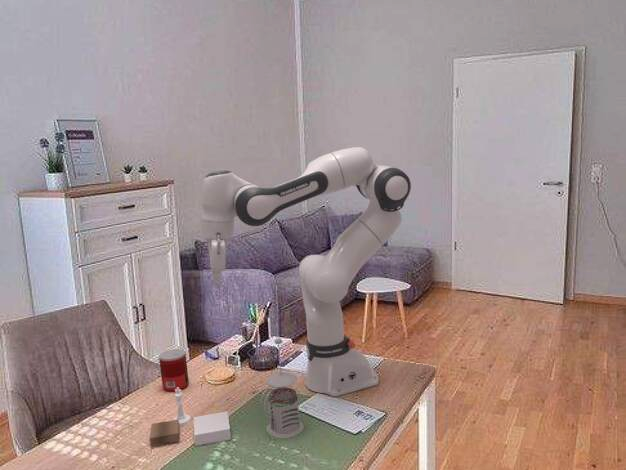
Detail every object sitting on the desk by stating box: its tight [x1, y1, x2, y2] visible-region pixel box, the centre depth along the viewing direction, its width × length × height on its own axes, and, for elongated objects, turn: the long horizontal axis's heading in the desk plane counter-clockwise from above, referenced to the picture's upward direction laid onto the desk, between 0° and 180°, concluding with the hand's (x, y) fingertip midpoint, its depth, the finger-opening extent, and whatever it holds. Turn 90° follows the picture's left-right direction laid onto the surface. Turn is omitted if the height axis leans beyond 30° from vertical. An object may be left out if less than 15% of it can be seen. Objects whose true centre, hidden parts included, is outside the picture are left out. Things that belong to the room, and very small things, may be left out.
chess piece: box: [172, 387, 192, 427], centre depth 144 cm, size 5×5×10 cm
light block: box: [193, 411, 232, 447], centre depth 138 cm, size 9×9×3 cm
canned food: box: [158, 348, 190, 393], centre depth 165 cm, size 8×8×11 cm
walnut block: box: [149, 419, 181, 449], centre depth 138 cm, size 7×7×3 cm
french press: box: [259, 337, 305, 439], centre depth 136 cm, size 10×12×25 cm
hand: (216, 278), depth 147 cm, fingers open, 8 cm apart
